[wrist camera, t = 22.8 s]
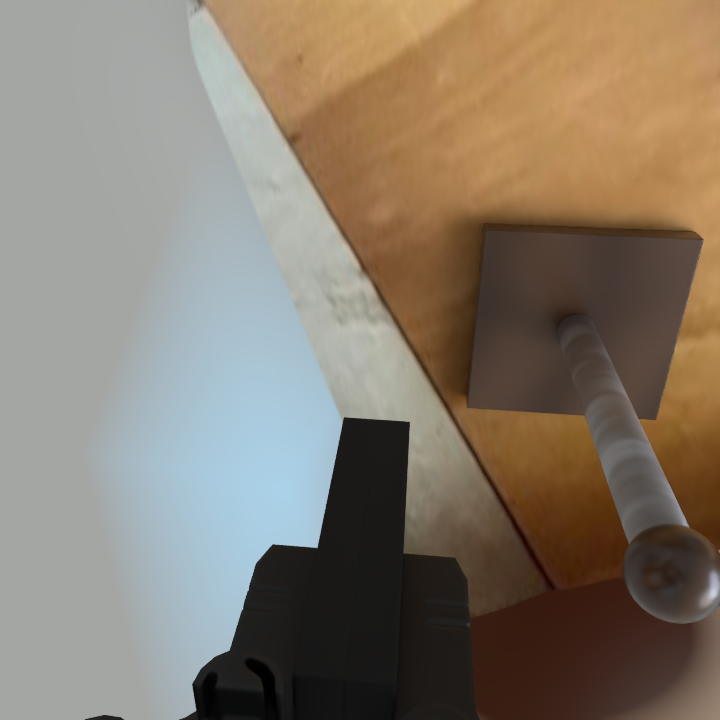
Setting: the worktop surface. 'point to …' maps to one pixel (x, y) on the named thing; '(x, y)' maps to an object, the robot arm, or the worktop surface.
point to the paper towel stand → (599, 375)
